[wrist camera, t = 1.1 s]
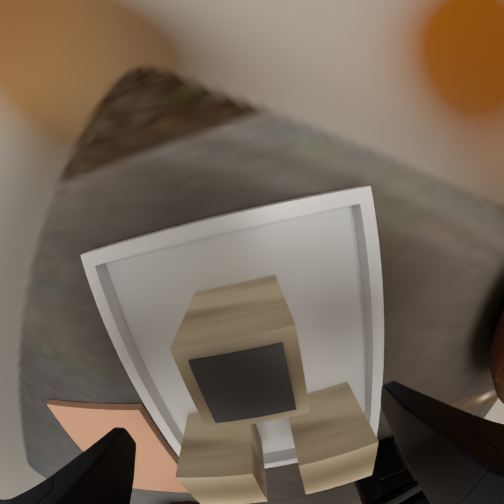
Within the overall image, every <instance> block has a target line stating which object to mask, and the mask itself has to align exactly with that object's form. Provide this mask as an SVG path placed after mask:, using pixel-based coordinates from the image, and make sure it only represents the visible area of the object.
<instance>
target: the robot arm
mask: <svg viewBox="0 0 504 504" xmlns="http://www.w3.org/2000/svg"><path fill="white" fill-rule="evenodd" d="M381 407H382V409H383V411H384V414H385V416H386V419H387V421H388V424H389V426H390V429H391V431H392V434H393V436H394V438H391V439H389V440H387V441H384V442H382V443H379V444H378V448H377V454H376V459H375V464H374V469H373V473H372V475H371V476H368V477H365V478H362V479H359V480H357V481H354V483H355V485H356V488H357V491H358V494H359V497H360V499H361V502H362V504H504V424H500V423H496V422H492V421H489V420H486V419H483V418H481V417H478V416H475V415H472V414H470V413H467V412H465V411H462V410H460V409H457V408H455V407H453V406H450V405H448V404H445V403H443V402H440V401H438V400H436V399H433V398H431V397H429V396H427V395H424V394H422V393H420V392H417V391H415V390H413V389H411V388H408V387H406V386H404V385H402V384H400V383H398V382H395V381H391V382H388V383H386V384H384V385H382V389H381ZM135 457H136V443H135V441H134V439H133V438H132V436H131V435H130V434H129V432H128V431H127V430H126V429H125V428H120V427H115V428H113V429H112V430H111V431H109V432H108V433H107V434H106V435H104V436H103V437H102V438H101V439H99V440H98V441H97V442H96V443H94V444H93V445H92V446H91V447H89V448H88V449H87V450H85V451H84V452H83V453H81V454H80V455H79V456H77V457H76V458H75V459H74V460H72V461H71V462H70V463H68V464H67V465H66V466H64V467H63V468H61V469H60V470H59V471H57V472H56V473H55V474H53V475H52V476H50V477H49V478H48V479H46V480H45V481H43V482H42V483H40V484H38V485H37V486H35V487H33V488H32V489H30V490H28V491H26V492H24V493H22V494H20V495H18V496H17V497H14V498H12V499H8V500H0V504H130V499H131V493H132V487H133V481H134V471H135Z"/></svg>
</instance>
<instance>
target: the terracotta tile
mask: <svg viewBox="0 0 504 504" xmlns="http://www.w3.org/2000/svg"><path fill="white" fill-rule="evenodd" d="M47 405H48V407H49V408H50V410H51V411H52V413H53V414H54V415H55V417H56V418H57V420H58V421H59V422H60V424H61V425H62V426H63V428H64V429H65V430H66V431H67V433H68V434H69V435H70V436H71V438H72V439H73V440H74V441H75V443H76V444H77V445H78V446H79V447H80V448H81V450H82V451H83V452H84V451H85V450H87V449H88V448H89V447H91V446H92V445H93V444H94V443H96V442H97V441H98V440H99V439H101V438H102V437H103V436H104V435H106V434H107V433H108V432H109V431H111V430H112V429H113V428H115V427H120V428H125V429H126V430H127V431H128V432H129V434H130V435H131V436H132V438H133V439H134V441H135V443H136V457H135V471H134V481H133V487H132V488H137V489H145V490H155V491H167V492H188V491H187V490H186V489H185V488H184V487H183V485H182V484H181V483H180V482H179V481H178V480H177V479H176V478H175V476H176V471H177V466H178V460H179V459H178V457H177V456H176V455H175V453H174V452H173V450H172V449H171V448H170V446H169V445H168V443H167V442H166V441H165V439H164V438H163V436H162V435H161V433H160V432H159V430H158V429H157V427H156V426H155V424H154V423H153V421H152V419H151V418H150V416H149V415H148V413H147V411H146V410H145V408H144V406H143V405H142V403H140V404H106V403H83V402H70V401H59V400H50V401H49V402H48V403H47Z"/></svg>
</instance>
